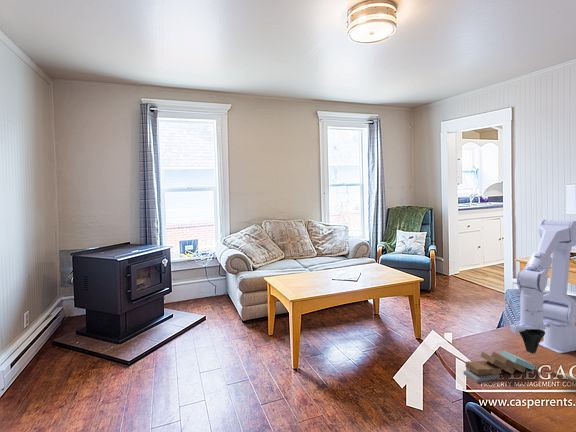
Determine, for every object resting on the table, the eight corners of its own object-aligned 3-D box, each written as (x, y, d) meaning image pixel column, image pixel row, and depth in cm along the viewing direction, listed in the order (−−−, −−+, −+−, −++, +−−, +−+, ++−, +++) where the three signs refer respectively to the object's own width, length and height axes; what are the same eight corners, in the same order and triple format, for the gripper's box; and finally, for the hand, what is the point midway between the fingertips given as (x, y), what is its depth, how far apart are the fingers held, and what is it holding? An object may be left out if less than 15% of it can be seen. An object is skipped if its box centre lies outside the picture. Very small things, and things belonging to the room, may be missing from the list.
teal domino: (521, 358, 109) (502, 350, 107) (535, 365, 104) (516, 357, 102) (519, 362, 109) (500, 354, 107) (533, 370, 104) (514, 362, 102)
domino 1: (488, 360, 106) (465, 361, 104) (501, 368, 101) (477, 369, 100) (488, 365, 106) (465, 366, 104) (501, 373, 101) (477, 374, 100)
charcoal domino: (485, 366, 105) (463, 371, 103) (499, 374, 100) (476, 379, 98) (484, 371, 105) (463, 376, 103) (499, 380, 100) (476, 385, 98)
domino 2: (501, 361, 107) (482, 351, 105) (515, 369, 102) (495, 358, 100) (499, 366, 107) (480, 356, 105) (512, 374, 102) (492, 363, 100)
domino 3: (511, 360, 108) (493, 351, 106) (526, 368, 103) (506, 359, 101) (509, 364, 107) (491, 356, 106) (524, 372, 103) (504, 364, 101)
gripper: (525, 316, 100) (524, 361, 101) (562, 310, 103) (561, 354, 104) (504, 308, 106) (503, 351, 107) (539, 303, 110) (539, 344, 111)
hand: (531, 352), depth 106 cm, fingers closed
